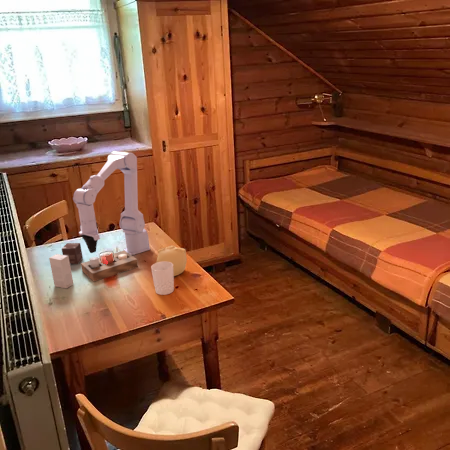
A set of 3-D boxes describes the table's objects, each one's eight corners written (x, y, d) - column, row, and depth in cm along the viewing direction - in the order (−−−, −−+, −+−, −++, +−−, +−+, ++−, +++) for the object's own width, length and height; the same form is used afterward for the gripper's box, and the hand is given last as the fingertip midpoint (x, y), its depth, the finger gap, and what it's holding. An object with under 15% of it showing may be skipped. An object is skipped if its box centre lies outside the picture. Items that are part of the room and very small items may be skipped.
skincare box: (74, 284, 190) (69, 255, 186) (66, 289, 187) (61, 260, 183) (61, 281, 193) (56, 253, 189) (54, 286, 189) (48, 257, 185)
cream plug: (125, 261, 207) (124, 253, 205) (129, 264, 204) (128, 255, 203) (117, 264, 205) (116, 255, 203) (121, 266, 202) (120, 258, 201)
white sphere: (97, 265, 199) (96, 256, 198) (101, 267, 197) (99, 258, 195) (89, 267, 197) (88, 258, 196) (92, 270, 195) (91, 261, 193)
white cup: (158, 297, 177) (155, 272, 173) (150, 289, 183) (148, 264, 180) (178, 292, 180) (176, 267, 177) (170, 283, 187) (168, 259, 183)
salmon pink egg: (111, 260, 203) (110, 252, 201) (115, 263, 200) (113, 254, 199) (103, 263, 201) (102, 254, 199) (107, 266, 198) (105, 257, 197)
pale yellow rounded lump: (189, 266, 200) (187, 241, 197) (183, 279, 189) (181, 253, 185) (162, 265, 202) (159, 241, 198) (154, 279, 191) (151, 253, 187)
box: (83, 258, 213) (80, 242, 210) (78, 264, 207) (75, 248, 205) (69, 258, 213) (66, 242, 211) (64, 264, 208) (61, 248, 205)
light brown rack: (125, 257, 211) (124, 250, 210) (138, 266, 202) (137, 259, 201) (82, 271, 201) (80, 263, 199) (93, 281, 192) (92, 273, 190)
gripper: (70, 217, 193) (76, 249, 198) (84, 226, 182) (90, 260, 187) (88, 213, 197) (92, 244, 202) (102, 222, 186) (107, 255, 191)
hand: (92, 251), depth 195 cm, fingers closed
